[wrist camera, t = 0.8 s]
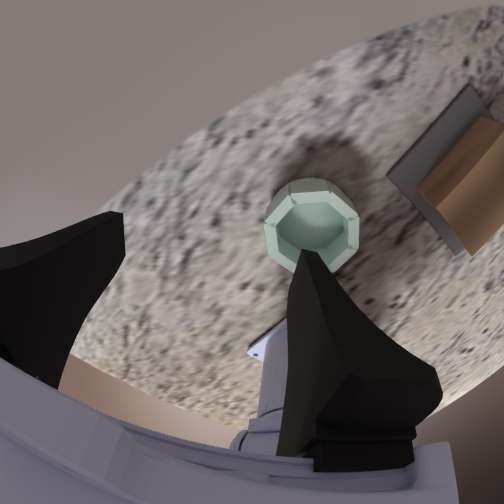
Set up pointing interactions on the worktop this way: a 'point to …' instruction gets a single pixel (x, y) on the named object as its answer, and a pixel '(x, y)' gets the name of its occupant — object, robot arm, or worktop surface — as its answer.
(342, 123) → the worktop surface
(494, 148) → the cardboard brown block
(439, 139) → the mat
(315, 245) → the bowl
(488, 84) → the worktop surface
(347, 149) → the worktop surface
